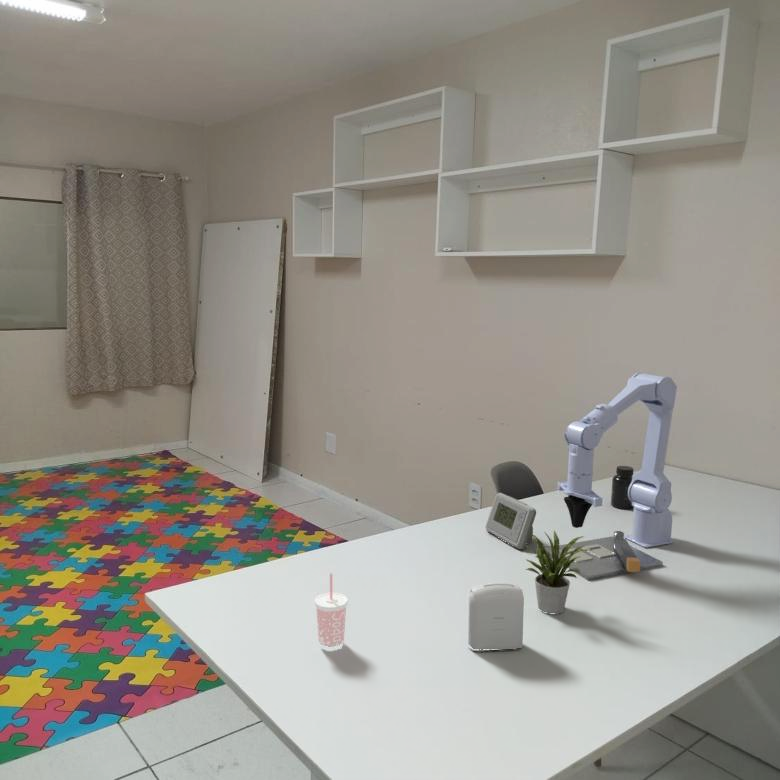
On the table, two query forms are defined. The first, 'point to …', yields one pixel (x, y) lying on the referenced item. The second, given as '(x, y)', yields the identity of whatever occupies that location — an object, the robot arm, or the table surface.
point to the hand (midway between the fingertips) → (577, 526)
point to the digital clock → (511, 520)
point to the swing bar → (627, 555)
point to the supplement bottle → (621, 488)
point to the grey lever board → (603, 558)
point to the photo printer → (496, 616)
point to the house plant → (553, 574)
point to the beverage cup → (331, 617)
